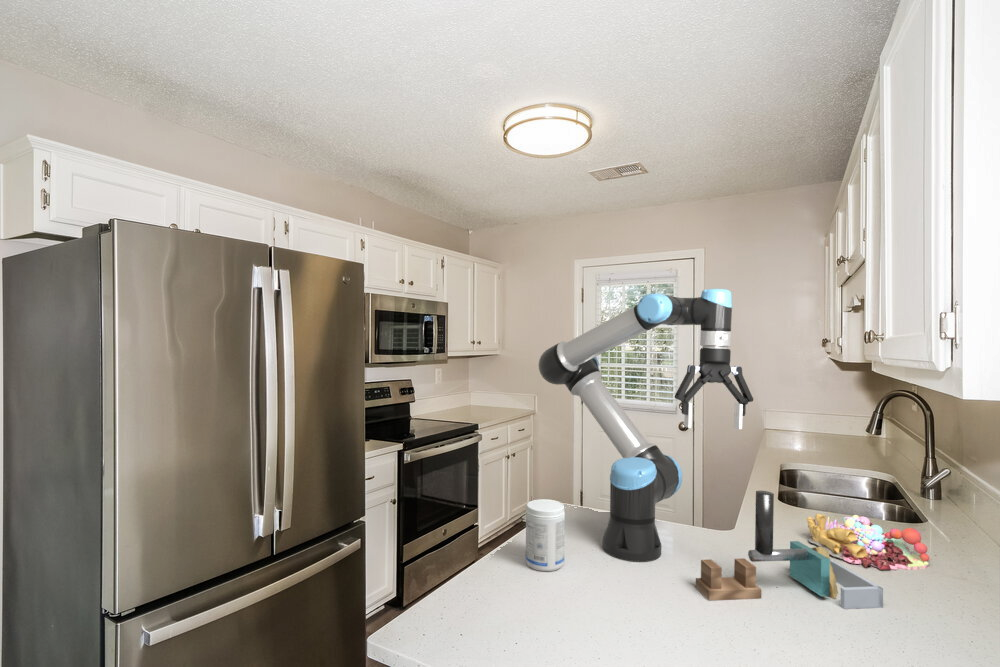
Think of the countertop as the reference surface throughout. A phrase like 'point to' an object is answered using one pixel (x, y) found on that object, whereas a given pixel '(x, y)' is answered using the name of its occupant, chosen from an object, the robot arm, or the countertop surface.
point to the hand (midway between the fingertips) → (712, 427)
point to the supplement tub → (545, 534)
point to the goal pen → (856, 589)
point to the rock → (832, 586)
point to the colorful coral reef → (868, 543)
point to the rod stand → (728, 581)
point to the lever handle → (788, 550)
